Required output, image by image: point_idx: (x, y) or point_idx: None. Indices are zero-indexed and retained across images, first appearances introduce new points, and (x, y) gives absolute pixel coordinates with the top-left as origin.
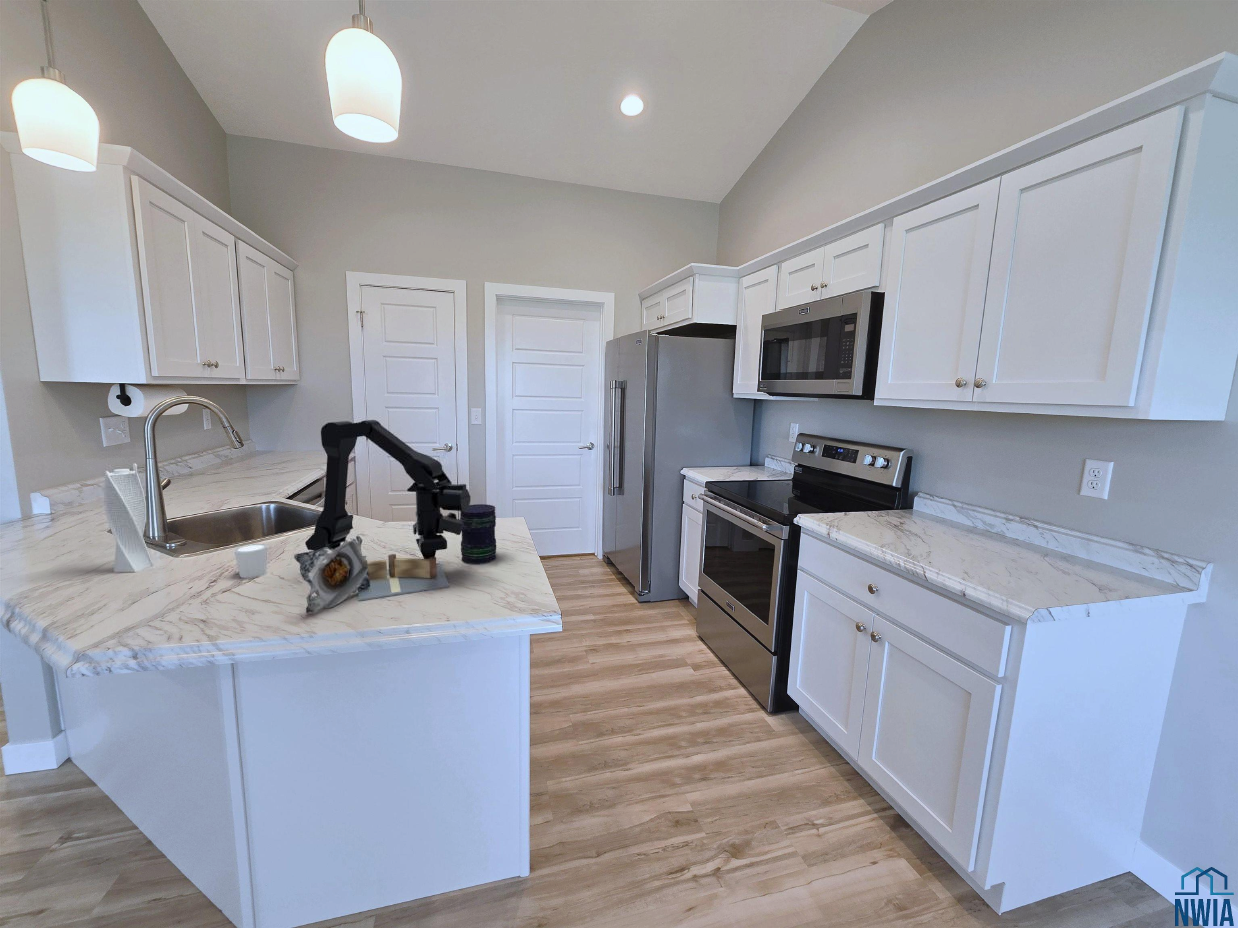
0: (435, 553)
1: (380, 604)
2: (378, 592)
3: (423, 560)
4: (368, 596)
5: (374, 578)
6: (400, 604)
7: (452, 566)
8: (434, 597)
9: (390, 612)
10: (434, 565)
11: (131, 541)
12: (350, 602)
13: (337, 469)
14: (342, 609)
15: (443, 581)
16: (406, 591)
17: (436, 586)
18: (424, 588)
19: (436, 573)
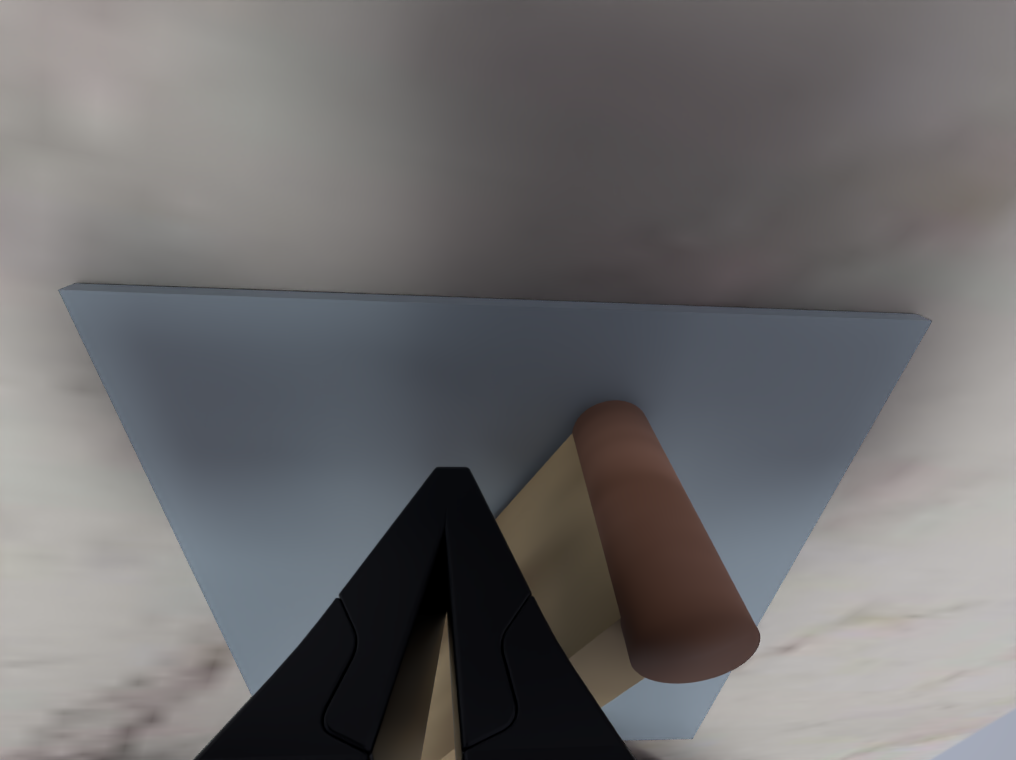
0: (556, 642)
1: (808, 675)
2: (658, 691)
3: (616, 687)
4: (682, 716)
5: None
6: (900, 616)
7: (209, 117)
8: (1005, 459)
9: (955, 650)
10: (708, 536)
11: None
12: (676, 743)
13: None
14: (735, 755)
15: (769, 354)
16: (761, 597)
17: (845, 430)
18: (804, 509)
19: (648, 431)
